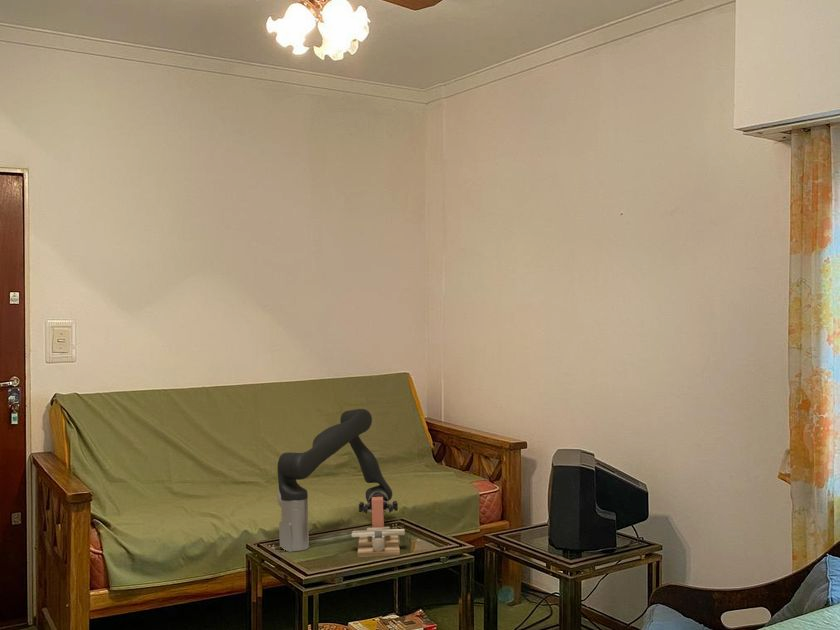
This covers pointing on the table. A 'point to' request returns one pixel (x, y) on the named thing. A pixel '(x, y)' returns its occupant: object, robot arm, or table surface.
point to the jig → (378, 541)
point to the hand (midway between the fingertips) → (378, 510)
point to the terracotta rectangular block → (377, 512)
